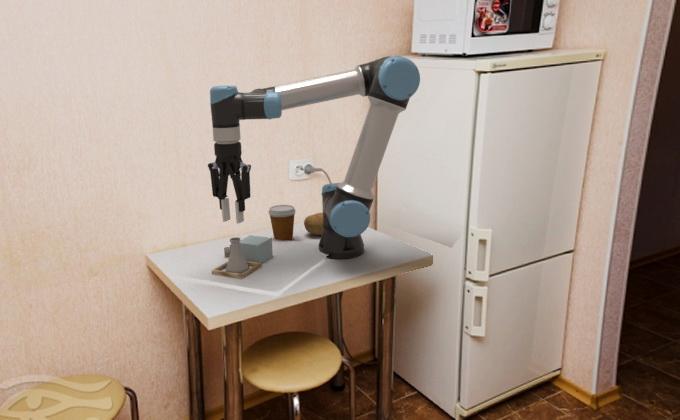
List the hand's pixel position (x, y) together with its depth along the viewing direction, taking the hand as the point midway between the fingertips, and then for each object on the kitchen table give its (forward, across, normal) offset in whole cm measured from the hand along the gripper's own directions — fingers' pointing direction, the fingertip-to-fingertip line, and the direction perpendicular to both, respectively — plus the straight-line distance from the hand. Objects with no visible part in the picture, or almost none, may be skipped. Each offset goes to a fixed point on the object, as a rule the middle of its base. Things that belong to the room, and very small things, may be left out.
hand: (233, 221), depth 166 cm
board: (+17, +4, -5) cm, 18 cm away
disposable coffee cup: (+17, +4, -33) cm, 37 cm away
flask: (+16, 0, 0) cm, 16 cm away
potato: (+17, -6, -45) cm, 48 cm away
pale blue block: (+15, 0, -10) cm, 19 cm away
